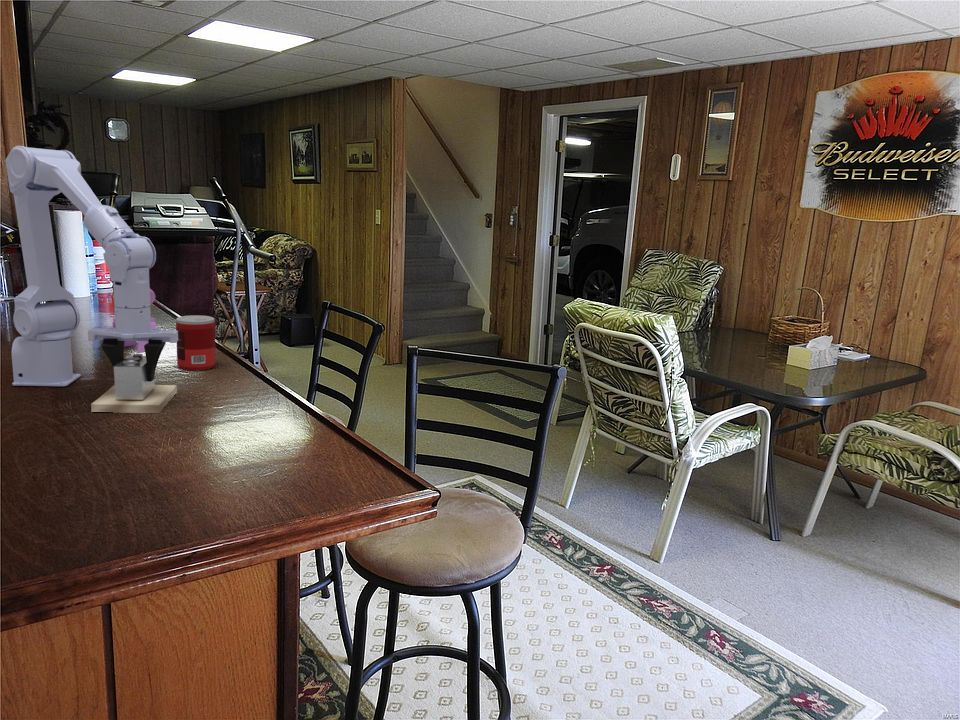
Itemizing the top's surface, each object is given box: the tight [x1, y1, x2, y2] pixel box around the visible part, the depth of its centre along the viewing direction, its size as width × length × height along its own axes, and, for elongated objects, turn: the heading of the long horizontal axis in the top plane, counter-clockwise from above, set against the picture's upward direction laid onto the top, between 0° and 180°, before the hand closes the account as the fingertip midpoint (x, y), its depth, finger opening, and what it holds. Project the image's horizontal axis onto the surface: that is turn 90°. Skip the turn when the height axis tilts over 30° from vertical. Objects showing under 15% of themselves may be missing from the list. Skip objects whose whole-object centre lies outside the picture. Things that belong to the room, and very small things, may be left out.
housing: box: [113, 353, 156, 400], centre depth 126 cm, size 8×4×7 cm, turn 10°
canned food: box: [175, 314, 216, 372], centre depth 153 cm, size 8×8×11 cm
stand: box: [90, 384, 178, 414], centre depth 127 cm, size 11×13×2 cm
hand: (135, 379), depth 126 cm, fingers closed on housing, 4 cm apart
